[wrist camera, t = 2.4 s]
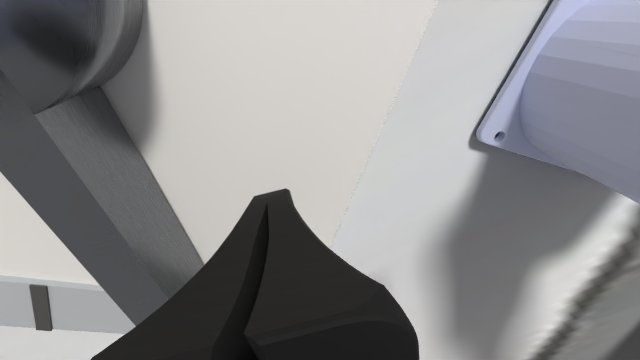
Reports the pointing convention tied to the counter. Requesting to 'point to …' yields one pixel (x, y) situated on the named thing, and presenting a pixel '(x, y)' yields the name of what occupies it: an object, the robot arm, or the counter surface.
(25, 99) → the dark round paddle
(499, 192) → the counter surface
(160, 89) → the stand
